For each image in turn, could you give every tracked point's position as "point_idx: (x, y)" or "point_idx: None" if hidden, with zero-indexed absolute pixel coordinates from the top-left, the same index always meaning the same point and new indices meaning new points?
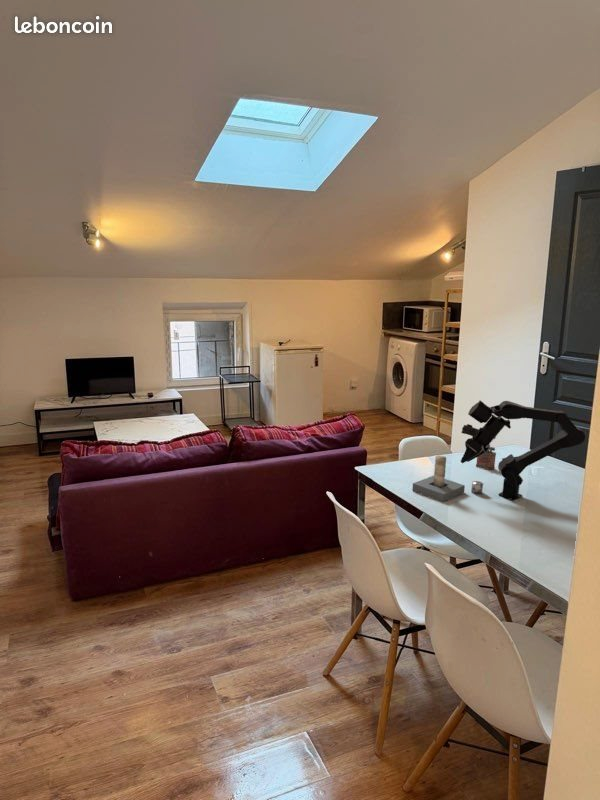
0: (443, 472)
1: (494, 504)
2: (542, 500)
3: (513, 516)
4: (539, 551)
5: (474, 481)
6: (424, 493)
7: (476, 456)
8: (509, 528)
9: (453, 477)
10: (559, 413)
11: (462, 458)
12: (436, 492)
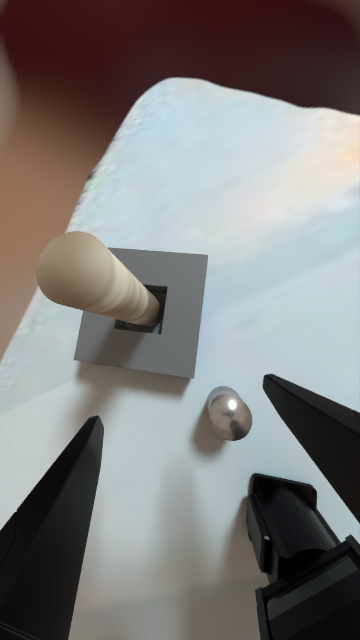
0: (110, 317)
1: (170, 486)
2: None
3: (121, 569)
4: None
5: (237, 402)
6: None
7: (325, 475)
8: None
9: (296, 288)
10: None
11: (66, 451)
12: (81, 332)
